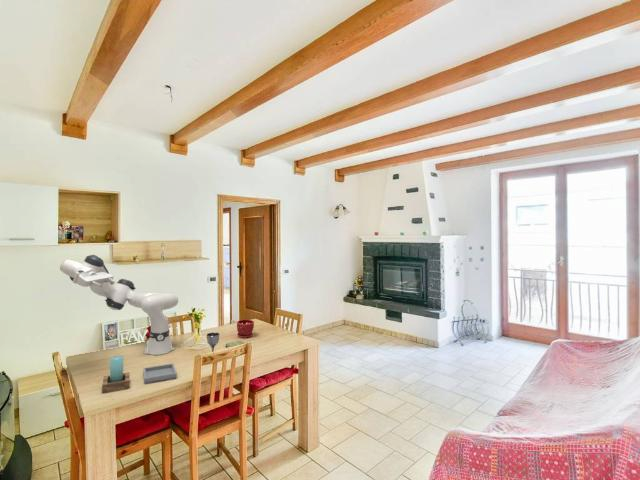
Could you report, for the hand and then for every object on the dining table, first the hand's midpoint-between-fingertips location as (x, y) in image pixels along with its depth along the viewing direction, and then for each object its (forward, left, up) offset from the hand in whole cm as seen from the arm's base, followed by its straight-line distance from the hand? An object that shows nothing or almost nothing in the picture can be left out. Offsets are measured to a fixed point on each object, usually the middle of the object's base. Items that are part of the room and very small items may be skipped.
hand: (107, 284), depth 193 cm
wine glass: (-2, +59, -51) cm, 78 cm away
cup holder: (+19, +5, -51) cm, 55 cm away
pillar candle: (+19, +5, -51) cm, 55 cm away
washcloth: (-12, +79, -52) cm, 95 cm away
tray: (+15, +26, -51) cm, 59 cm away
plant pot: (-35, +91, -51) cm, 110 cm away
